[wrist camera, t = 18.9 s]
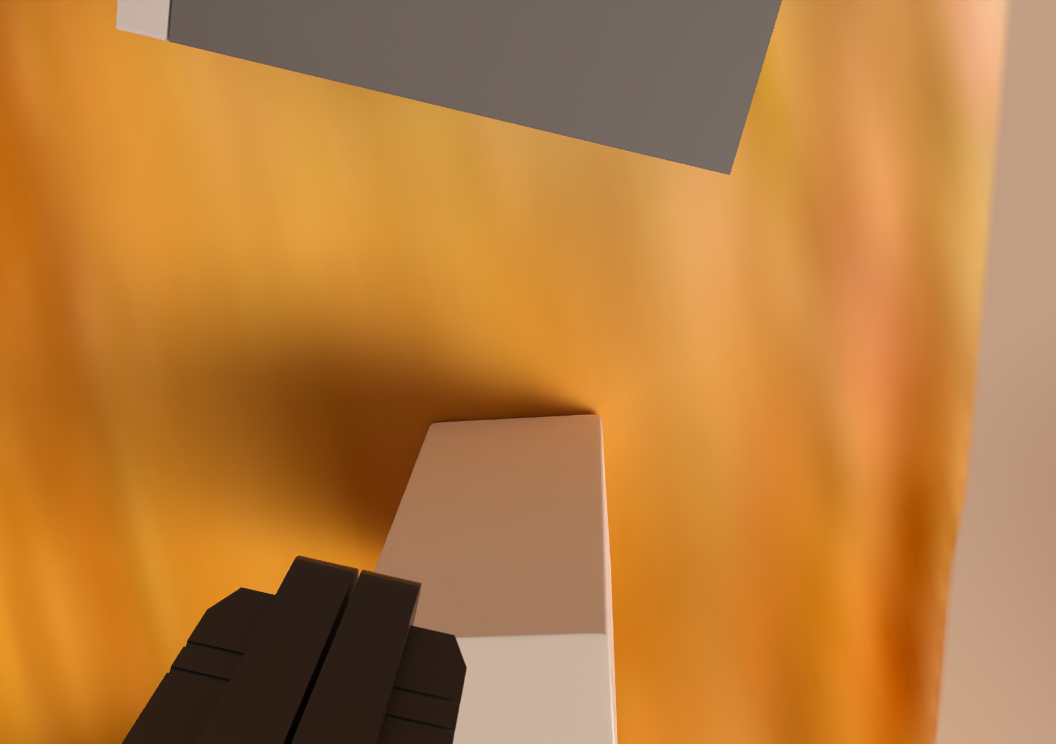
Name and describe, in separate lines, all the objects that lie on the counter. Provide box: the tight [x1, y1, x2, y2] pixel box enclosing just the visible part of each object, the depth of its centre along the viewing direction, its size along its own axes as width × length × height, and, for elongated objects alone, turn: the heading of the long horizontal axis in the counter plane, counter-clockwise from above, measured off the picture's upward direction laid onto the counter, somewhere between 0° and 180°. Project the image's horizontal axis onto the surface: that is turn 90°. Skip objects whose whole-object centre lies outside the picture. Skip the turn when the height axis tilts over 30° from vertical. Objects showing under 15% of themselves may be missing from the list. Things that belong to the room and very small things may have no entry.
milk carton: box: [374, 415, 617, 744], centre depth 32 cm, size 7×7×19 cm
